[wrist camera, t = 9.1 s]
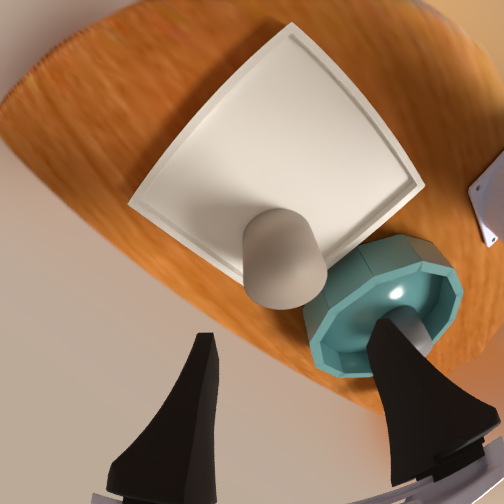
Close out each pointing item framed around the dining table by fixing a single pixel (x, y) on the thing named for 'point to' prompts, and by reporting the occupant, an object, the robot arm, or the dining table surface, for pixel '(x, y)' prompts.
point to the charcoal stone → (411, 327)
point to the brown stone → (281, 260)
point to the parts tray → (279, 158)
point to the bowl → (378, 299)
